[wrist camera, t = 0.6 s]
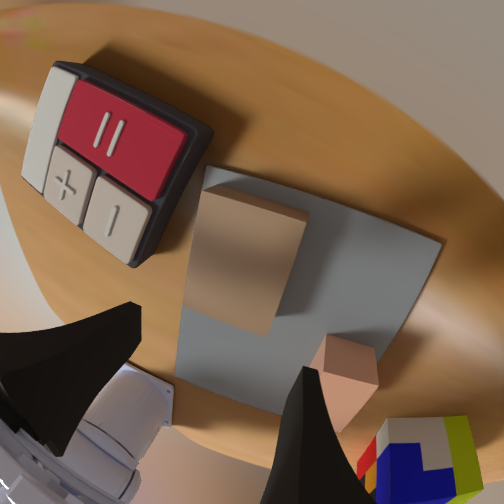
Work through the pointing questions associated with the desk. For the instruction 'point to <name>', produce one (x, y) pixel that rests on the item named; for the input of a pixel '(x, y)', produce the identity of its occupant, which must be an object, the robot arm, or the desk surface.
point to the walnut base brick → (241, 257)
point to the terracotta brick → (345, 377)
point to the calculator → (111, 158)
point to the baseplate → (309, 298)
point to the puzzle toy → (421, 462)
